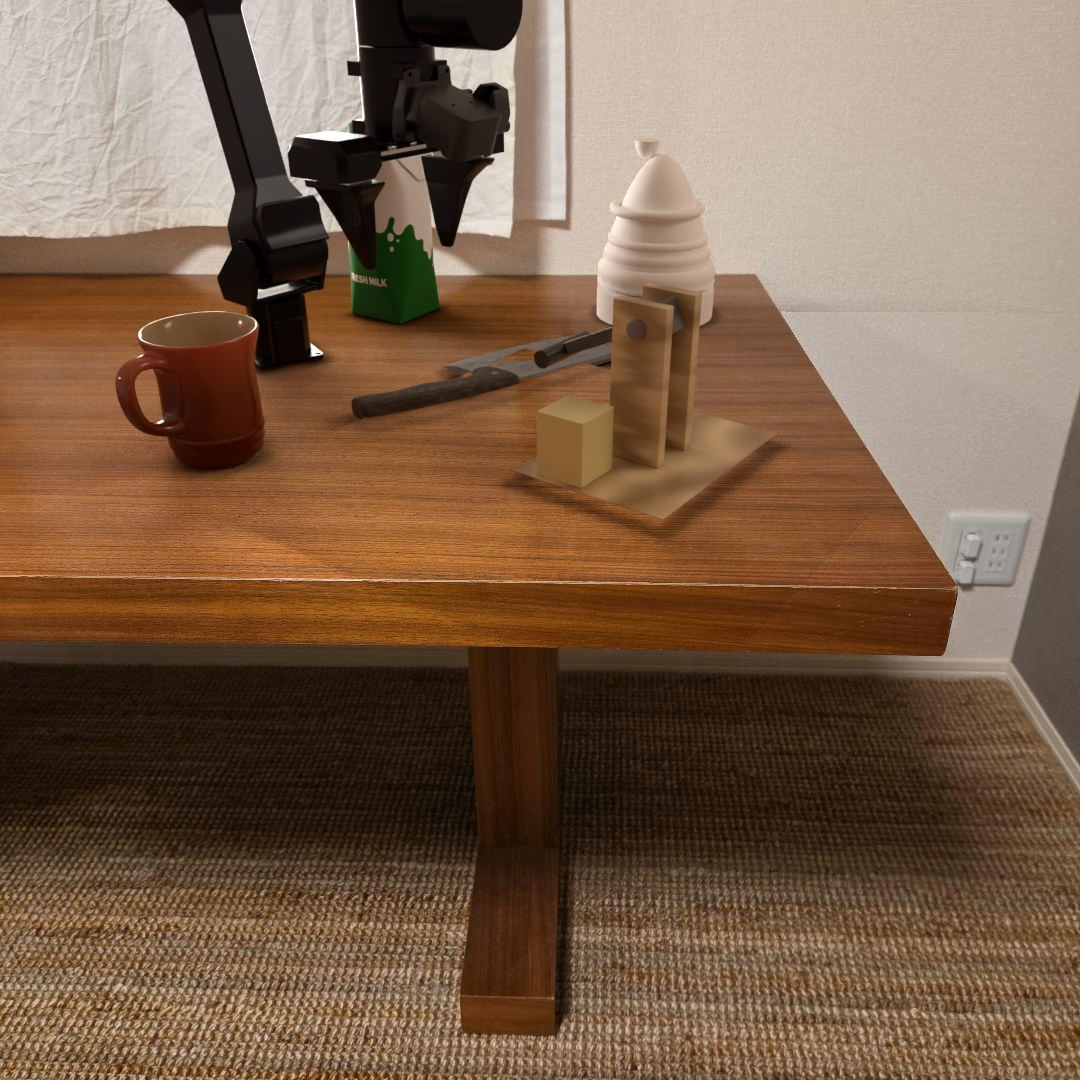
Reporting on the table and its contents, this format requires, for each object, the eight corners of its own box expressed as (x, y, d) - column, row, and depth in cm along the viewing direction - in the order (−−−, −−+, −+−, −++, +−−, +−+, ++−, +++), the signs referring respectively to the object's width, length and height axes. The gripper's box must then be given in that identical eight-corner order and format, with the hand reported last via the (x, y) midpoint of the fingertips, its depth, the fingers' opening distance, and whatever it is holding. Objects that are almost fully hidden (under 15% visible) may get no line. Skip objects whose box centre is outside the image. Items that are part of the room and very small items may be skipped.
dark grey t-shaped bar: (539, 376, 77) (528, 346, 77) (583, 355, 82) (574, 327, 81) (656, 342, 70) (645, 308, 69) (698, 321, 74) (688, 289, 73)
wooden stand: (511, 484, 75) (507, 309, 69) (638, 410, 88) (646, 256, 81) (661, 534, 69) (673, 346, 62) (776, 446, 81) (796, 282, 75)
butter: (536, 474, 74) (536, 410, 72) (567, 455, 77) (568, 394, 74) (581, 488, 72) (582, 424, 69) (611, 469, 75) (614, 406, 72)
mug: (223, 424, 85) (203, 304, 80) (300, 446, 81) (283, 322, 76) (103, 477, 77) (72, 347, 72) (182, 505, 73) (154, 369, 67)
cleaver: (382, 438, 82) (380, 413, 81) (320, 404, 89) (318, 381, 88) (633, 360, 100) (634, 339, 98) (565, 337, 106) (566, 317, 105)
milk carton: (340, 315, 112) (320, 122, 102) (392, 295, 119) (378, 112, 109) (401, 328, 108) (387, 128, 98) (452, 307, 115) (443, 118, 105)
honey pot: (572, 315, 112) (574, 143, 103) (640, 290, 120) (647, 129, 111) (668, 339, 105) (680, 156, 96) (733, 311, 113) (749, 140, 104)
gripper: (385, 58, 64) (403, 300, 72) (557, 42, 77) (556, 249, 85) (269, 51, 70) (297, 275, 78) (447, 37, 83) (456, 231, 91)
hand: (409, 257), depth 82 cm, fingers open, 9 cm apart
